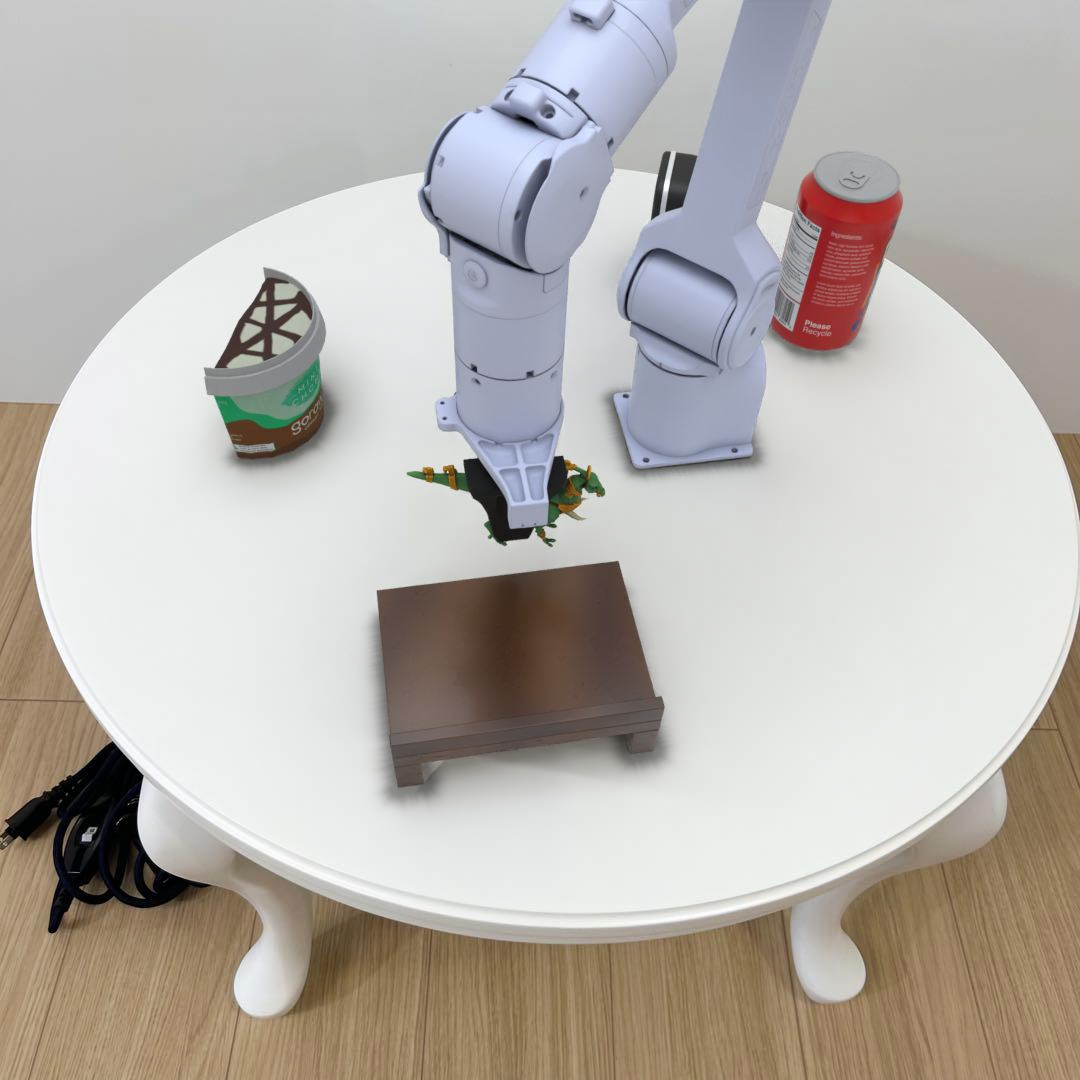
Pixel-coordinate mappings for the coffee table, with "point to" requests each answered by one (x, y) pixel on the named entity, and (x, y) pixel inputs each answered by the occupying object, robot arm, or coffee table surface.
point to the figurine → (557, 505)
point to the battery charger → (672, 181)
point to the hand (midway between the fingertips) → (507, 511)
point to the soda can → (836, 249)
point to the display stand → (513, 665)
